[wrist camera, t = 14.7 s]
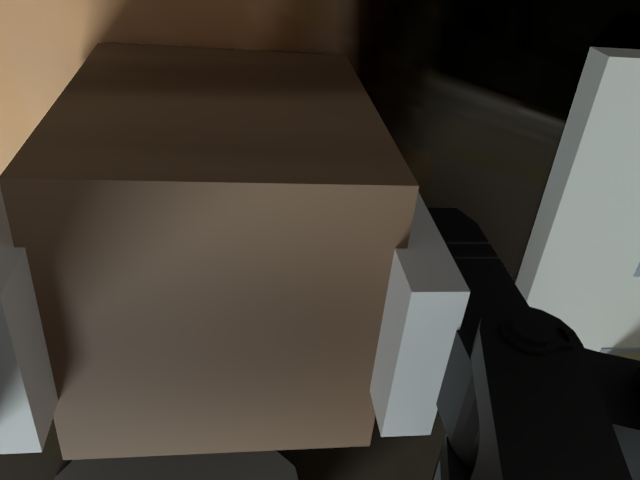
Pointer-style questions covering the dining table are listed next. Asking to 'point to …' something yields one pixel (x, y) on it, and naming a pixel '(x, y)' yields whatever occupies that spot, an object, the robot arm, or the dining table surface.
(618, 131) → the board
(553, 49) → the dining table surface
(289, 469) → the cup
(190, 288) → the walnut block
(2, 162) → the dining table surface
